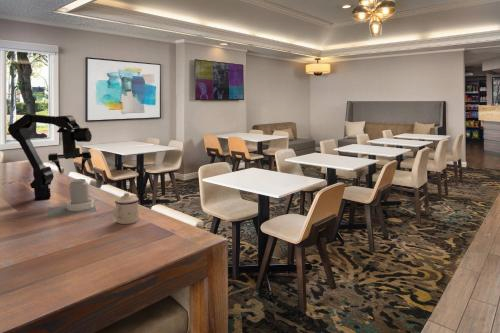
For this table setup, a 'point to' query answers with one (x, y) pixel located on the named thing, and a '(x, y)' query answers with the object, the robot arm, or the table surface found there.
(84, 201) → the can
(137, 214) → the teacup with lid
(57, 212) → the placemat
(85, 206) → the bowl
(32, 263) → the table surface
